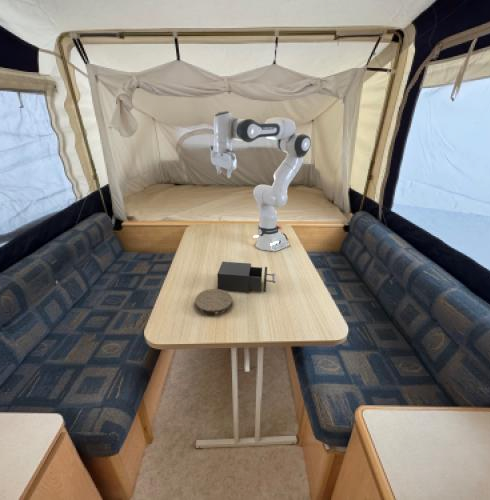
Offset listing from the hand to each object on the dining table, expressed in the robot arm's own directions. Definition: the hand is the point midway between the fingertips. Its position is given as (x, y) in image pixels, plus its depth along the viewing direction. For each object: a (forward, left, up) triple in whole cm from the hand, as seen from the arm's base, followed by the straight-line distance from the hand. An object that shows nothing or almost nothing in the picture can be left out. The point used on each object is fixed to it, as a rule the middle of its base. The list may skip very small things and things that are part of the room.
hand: (223, 175), depth 140 cm
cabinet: (+10, +30, -48) cm, 57 cm away
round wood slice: (+26, +40, -48) cm, 67 cm away
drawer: (+1, +37, -47) cm, 59 cm away
